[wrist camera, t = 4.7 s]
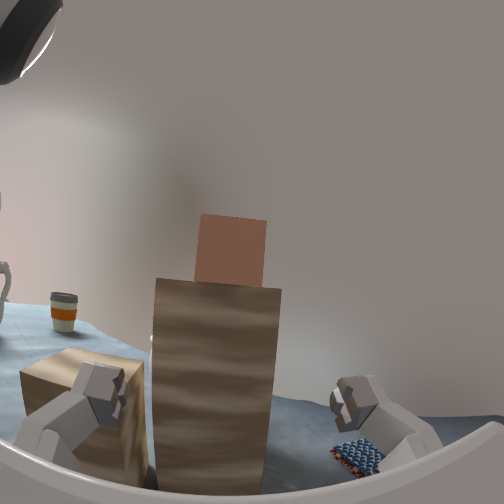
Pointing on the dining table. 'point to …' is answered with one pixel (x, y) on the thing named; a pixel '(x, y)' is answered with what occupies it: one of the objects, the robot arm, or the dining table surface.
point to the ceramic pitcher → (4, 268)
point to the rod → (230, 250)
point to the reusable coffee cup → (63, 311)
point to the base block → (104, 437)
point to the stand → (212, 385)
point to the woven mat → (359, 457)
